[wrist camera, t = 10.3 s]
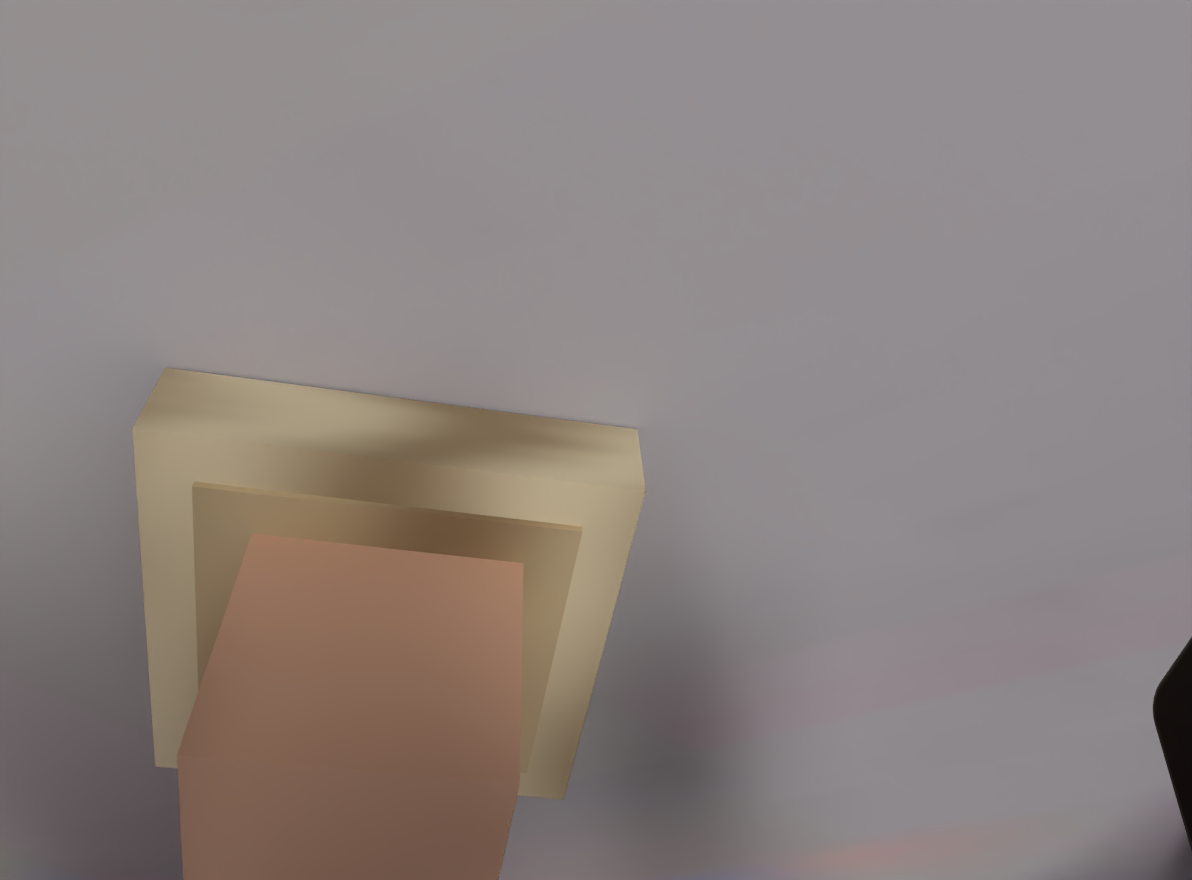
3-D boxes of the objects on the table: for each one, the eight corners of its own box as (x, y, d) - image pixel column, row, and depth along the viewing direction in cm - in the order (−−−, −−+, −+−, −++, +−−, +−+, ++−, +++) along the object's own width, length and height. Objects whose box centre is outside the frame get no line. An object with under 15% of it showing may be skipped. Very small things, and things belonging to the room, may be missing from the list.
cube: (524, 563, 20) (519, 783, 16) (489, 737, 23) (479, 962, 19) (251, 533, 20) (177, 755, 16) (250, 717, 22) (186, 945, 18)
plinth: (637, 429, 21) (646, 495, 20) (562, 730, 26) (563, 805, 25) (165, 367, 20) (129, 432, 18) (180, 695, 25) (153, 772, 23)
